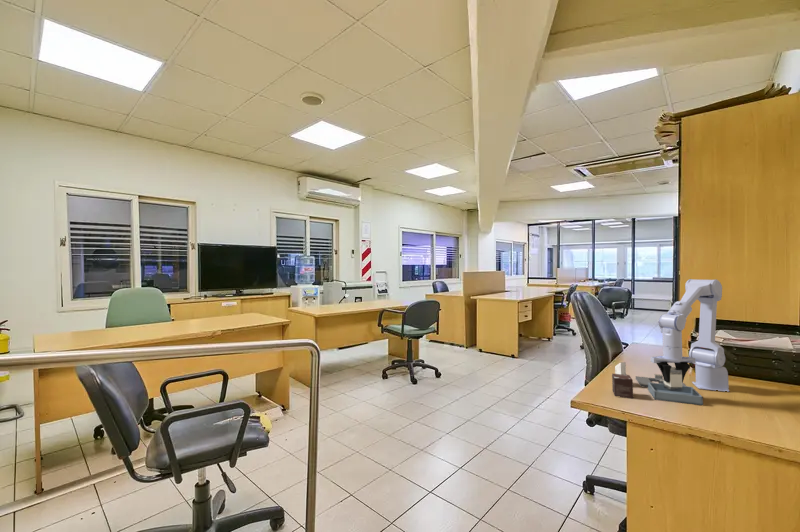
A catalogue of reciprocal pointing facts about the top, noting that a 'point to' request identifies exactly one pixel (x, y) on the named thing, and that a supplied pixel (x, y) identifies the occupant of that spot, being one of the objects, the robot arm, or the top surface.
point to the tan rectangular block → (674, 380)
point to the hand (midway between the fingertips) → (673, 381)
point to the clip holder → (644, 380)
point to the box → (622, 385)
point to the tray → (675, 394)
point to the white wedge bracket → (620, 368)
